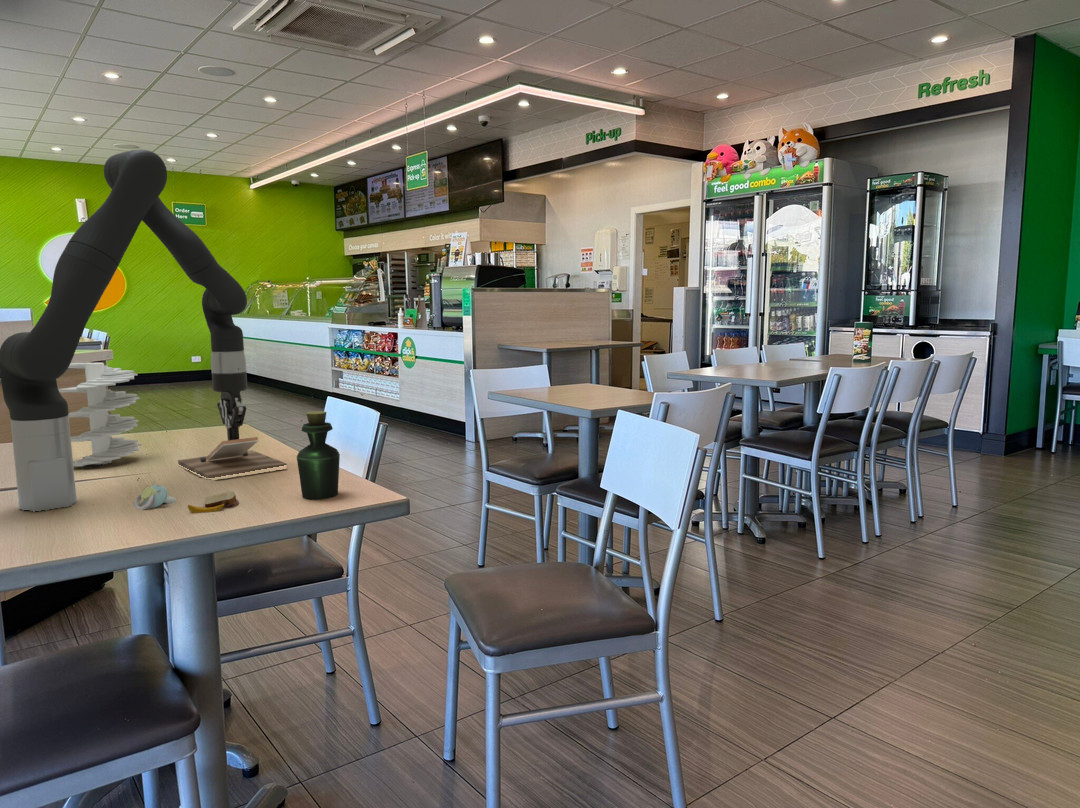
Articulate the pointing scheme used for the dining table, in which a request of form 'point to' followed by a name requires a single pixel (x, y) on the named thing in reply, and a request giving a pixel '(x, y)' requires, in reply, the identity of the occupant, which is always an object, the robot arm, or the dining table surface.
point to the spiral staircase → (104, 413)
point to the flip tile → (232, 448)
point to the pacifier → (153, 497)
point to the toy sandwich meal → (216, 503)
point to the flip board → (230, 464)
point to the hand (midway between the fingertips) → (233, 443)
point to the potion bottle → (318, 460)
